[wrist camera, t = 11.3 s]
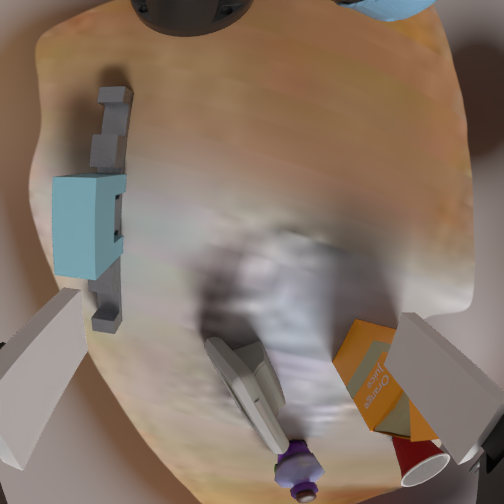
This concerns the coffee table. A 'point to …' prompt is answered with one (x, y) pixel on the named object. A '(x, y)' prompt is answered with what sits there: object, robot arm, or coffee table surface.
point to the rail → (112, 161)
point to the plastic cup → (418, 460)
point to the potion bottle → (298, 471)
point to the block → (85, 223)
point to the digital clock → (252, 387)
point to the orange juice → (378, 384)
